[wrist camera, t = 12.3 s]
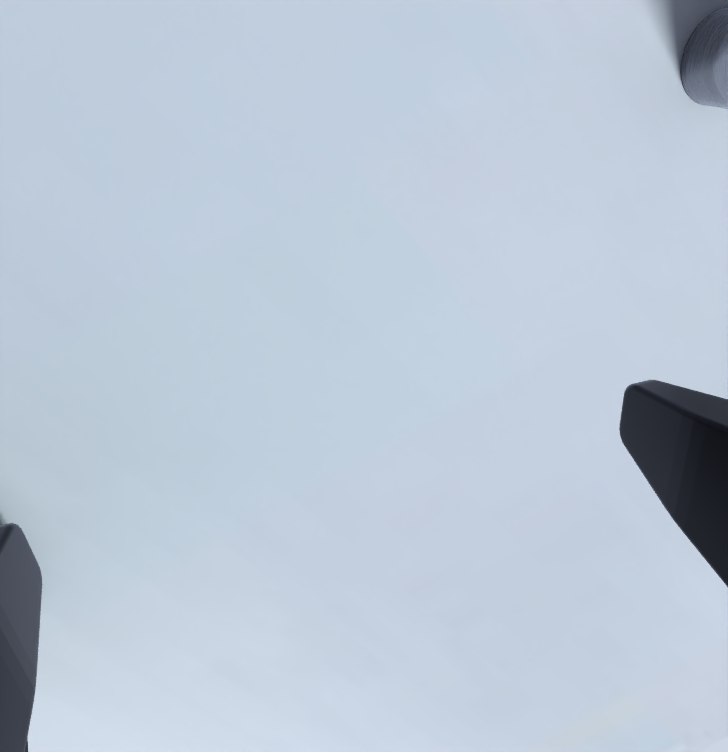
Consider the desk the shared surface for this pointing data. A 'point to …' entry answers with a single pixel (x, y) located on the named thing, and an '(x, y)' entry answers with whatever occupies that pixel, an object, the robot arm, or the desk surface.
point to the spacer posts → (708, 61)
